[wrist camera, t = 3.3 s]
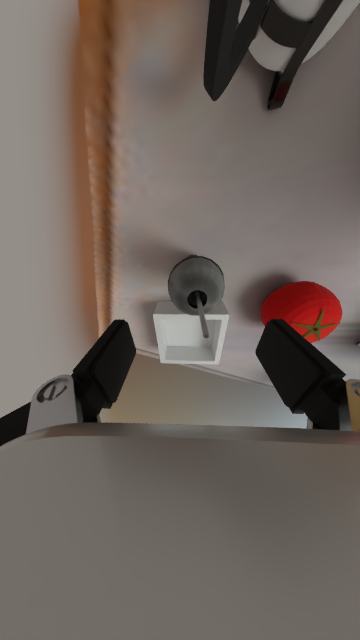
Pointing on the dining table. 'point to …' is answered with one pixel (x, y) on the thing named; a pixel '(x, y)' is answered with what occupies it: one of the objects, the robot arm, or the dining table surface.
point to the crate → (189, 334)
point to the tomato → (304, 309)
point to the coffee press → (268, 38)
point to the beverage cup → (196, 287)
